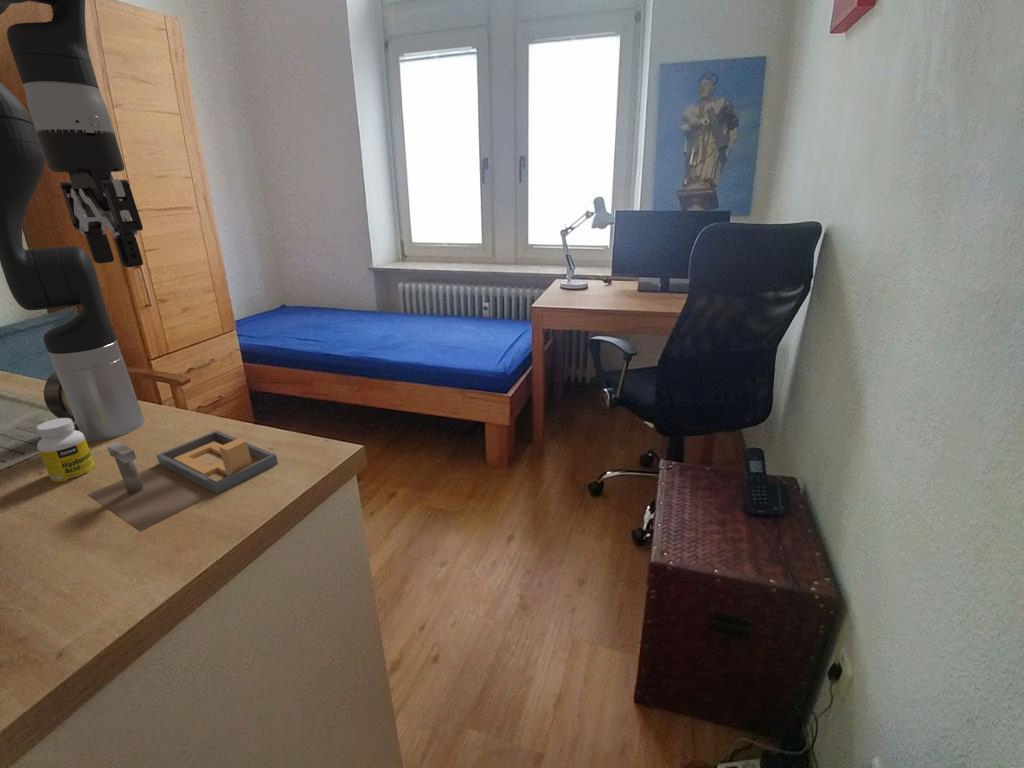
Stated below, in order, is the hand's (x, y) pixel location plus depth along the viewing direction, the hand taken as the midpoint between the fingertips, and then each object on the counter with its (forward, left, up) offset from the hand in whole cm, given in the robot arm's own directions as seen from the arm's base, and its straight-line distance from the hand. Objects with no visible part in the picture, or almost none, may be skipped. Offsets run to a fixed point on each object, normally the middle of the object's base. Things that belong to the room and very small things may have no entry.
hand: (118, 264), depth 67 cm
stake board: (+6, -8, -32) cm, 33 cm away
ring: (+6, +3, -32) cm, 32 cm away
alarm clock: (-34, 0, -32) cm, 47 cm away
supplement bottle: (-12, -10, -32) cm, 36 cm away
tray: (+6, +3, -32) cm, 33 cm away
